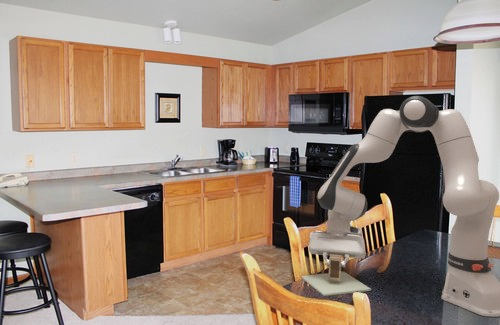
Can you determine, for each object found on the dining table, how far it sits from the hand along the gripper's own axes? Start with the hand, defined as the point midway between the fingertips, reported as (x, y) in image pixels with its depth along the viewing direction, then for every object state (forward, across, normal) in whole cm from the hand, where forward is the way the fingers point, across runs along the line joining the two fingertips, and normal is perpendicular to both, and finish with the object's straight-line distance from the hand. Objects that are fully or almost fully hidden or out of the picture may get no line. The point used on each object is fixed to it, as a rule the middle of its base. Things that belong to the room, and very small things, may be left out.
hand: (335, 265), depth 155 cm
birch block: (+3, 0, +3) cm, 5 cm away
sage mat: (+5, 0, +5) cm, 7 cm away
